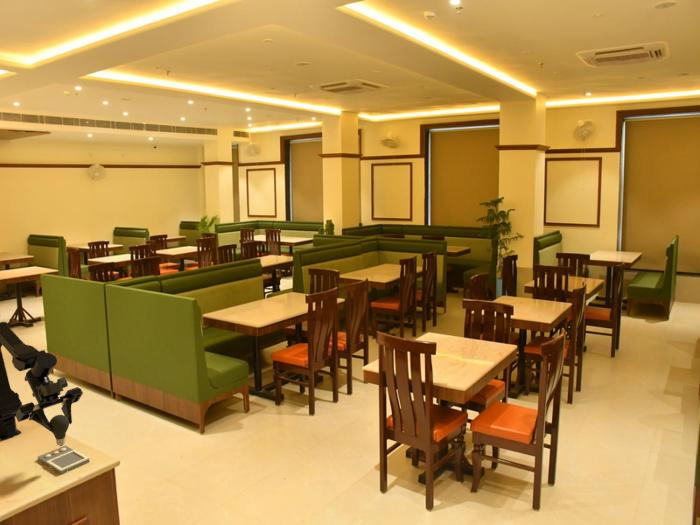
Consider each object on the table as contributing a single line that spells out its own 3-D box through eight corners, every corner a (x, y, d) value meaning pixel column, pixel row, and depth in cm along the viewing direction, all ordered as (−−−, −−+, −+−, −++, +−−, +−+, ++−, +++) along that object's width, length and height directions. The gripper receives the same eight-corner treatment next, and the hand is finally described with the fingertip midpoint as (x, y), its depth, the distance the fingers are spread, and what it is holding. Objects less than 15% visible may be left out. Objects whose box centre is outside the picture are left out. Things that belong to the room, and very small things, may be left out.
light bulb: (62, 450, 176) (59, 420, 174) (47, 449, 177) (43, 418, 175) (75, 442, 181) (72, 412, 180) (59, 440, 183) (56, 410, 181)
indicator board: (37, 459, 184) (37, 455, 184) (65, 448, 191) (65, 444, 191) (61, 474, 175) (60, 470, 175) (89, 461, 182) (89, 457, 182)
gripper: (15, 381, 170) (36, 426, 165) (77, 363, 185) (98, 404, 180) (7, 399, 176) (27, 443, 172) (67, 380, 191) (87, 420, 186)
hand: (61, 427), depth 177 cm, fingers closed on light bulb, 6 cm apart
